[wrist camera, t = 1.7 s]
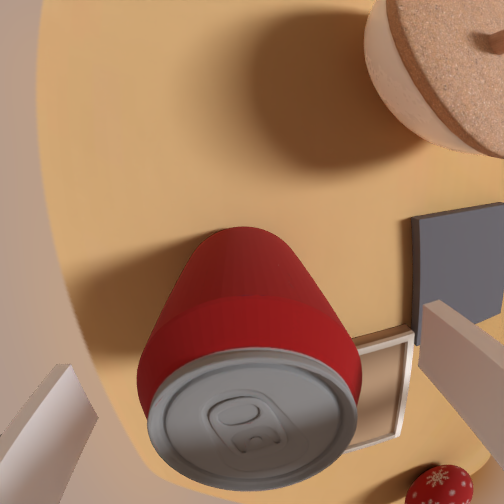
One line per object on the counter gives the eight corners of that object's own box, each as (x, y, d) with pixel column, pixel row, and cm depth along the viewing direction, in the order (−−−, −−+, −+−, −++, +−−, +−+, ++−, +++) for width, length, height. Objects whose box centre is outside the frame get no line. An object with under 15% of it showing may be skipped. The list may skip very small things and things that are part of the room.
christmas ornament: (445, 477, 27) (473, 525, 17) (390, 500, 27) (413, 555, 17) (463, 441, 25) (500, 495, 15) (402, 468, 25) (433, 533, 15)
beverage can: (215, 345, 19) (199, 513, 8) (166, 250, 18) (68, 376, 6) (315, 307, 19) (394, 457, 7) (276, 204, 17) (352, 273, 6)
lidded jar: (414, 191, 17) (525, 215, 8) (301, 54, 15) (354, -35, 6) (492, 105, 16) (586, 96, 7) (404, -11, 14) (474, -72, 5)
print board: (251, 359, 20) (252, 371, 18) (405, 323, 20) (414, 332, 18) (273, 456, 22) (275, 468, 21) (394, 426, 22) (399, 436, 21)
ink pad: (411, 217, 18) (419, 219, 17) (500, 202, 18) (508, 203, 17) (410, 339, 20) (416, 346, 19) (493, 308, 20) (500, 313, 19)
